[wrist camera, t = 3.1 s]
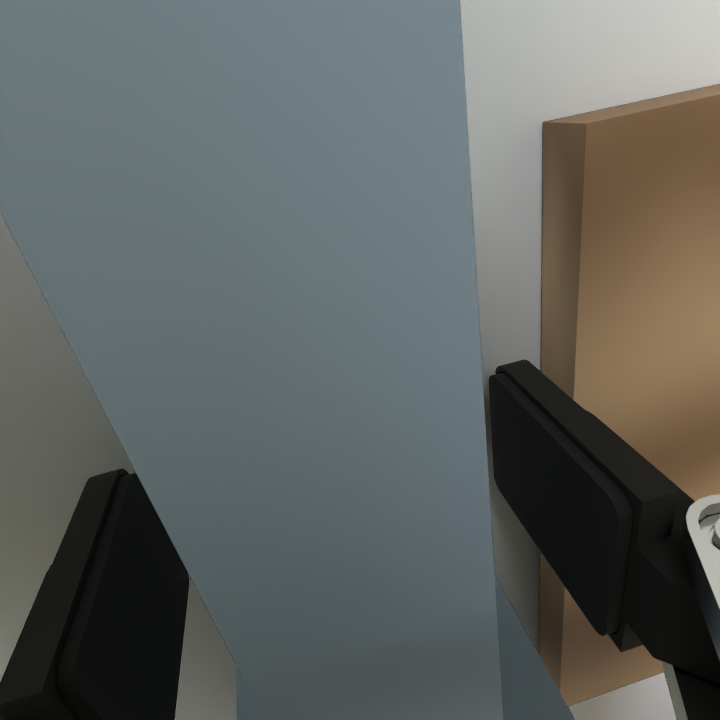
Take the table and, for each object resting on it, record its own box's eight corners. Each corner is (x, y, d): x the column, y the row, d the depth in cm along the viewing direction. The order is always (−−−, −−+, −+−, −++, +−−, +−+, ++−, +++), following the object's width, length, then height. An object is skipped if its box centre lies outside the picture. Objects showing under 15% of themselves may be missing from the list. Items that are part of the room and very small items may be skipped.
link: (488, 675, 16) (581, 887, 12) (296, 741, 15) (319, 993, 11) (425, -90, 7) (763, -459, 2) (-66, -11, 6) (-850, -328, 2)
